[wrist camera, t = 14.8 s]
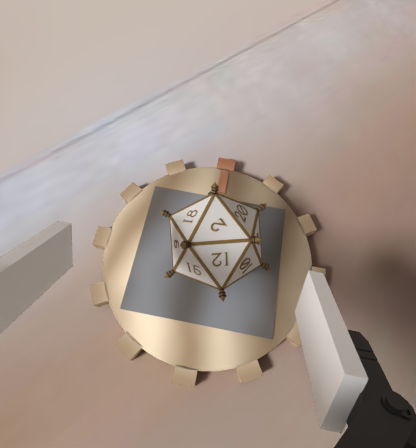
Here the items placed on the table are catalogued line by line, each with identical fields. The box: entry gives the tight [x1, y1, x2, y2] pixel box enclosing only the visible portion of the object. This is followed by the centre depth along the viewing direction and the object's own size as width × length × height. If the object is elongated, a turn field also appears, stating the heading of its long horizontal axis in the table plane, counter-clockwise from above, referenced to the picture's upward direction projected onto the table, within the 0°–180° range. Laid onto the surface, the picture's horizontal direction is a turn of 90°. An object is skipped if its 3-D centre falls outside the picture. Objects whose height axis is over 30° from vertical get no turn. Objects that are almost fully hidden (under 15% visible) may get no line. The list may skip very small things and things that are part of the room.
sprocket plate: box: [90, 158, 326, 388], centre depth 28 cm, size 21×21×1 cm
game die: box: [160, 182, 271, 302], centre depth 24 cm, size 9×8×10 cm
